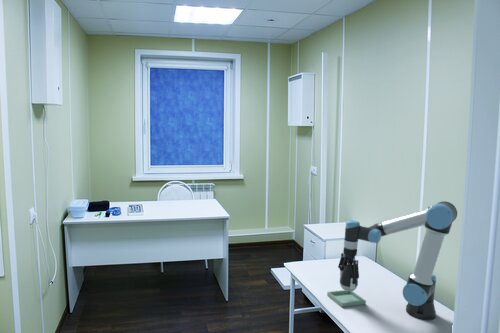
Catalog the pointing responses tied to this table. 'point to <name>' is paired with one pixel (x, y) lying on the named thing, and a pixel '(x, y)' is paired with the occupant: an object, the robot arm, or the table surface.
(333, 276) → the table surface
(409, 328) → the table surface
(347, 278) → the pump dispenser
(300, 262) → the table surface
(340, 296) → the tray
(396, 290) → the table surface
